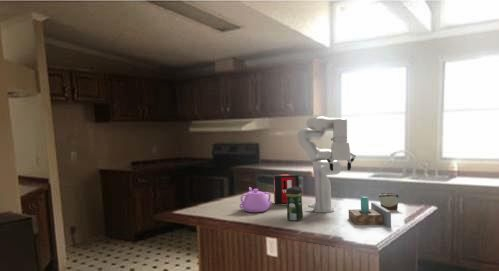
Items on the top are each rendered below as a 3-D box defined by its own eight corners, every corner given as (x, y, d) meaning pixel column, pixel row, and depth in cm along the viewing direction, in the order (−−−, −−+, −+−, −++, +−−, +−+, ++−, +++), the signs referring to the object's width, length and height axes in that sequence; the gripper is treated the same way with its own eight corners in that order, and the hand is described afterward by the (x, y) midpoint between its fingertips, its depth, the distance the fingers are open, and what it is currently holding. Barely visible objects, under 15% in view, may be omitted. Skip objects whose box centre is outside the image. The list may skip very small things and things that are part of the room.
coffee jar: (291, 216, 202) (291, 185, 202) (304, 218, 198) (303, 185, 198) (284, 220, 194) (284, 187, 194) (297, 222, 190) (297, 188, 190)
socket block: (355, 225, 179) (355, 215, 179) (348, 218, 193) (348, 209, 193) (382, 224, 179) (382, 214, 179) (373, 217, 193) (373, 209, 193)
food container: (396, 208, 217) (396, 192, 217) (399, 210, 211) (399, 194, 211) (376, 208, 218) (376, 192, 218) (379, 210, 212) (378, 194, 212)
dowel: (362, 220, 184) (361, 198, 184) (360, 218, 188) (359, 196, 188) (370, 220, 184) (369, 197, 184) (367, 218, 188) (367, 196, 188)
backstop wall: (387, 227, 174) (386, 211, 174) (371, 216, 198) (371, 202, 198) (391, 227, 174) (390, 211, 174) (375, 216, 198) (374, 202, 198)
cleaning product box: (297, 201, 246) (296, 173, 246) (299, 204, 237) (298, 175, 237) (274, 202, 246) (273, 174, 246) (275, 205, 237) (274, 176, 237)
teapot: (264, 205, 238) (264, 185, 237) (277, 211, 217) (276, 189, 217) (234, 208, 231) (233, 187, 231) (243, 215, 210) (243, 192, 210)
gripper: (326, 140, 190) (326, 171, 191) (357, 140, 190) (357, 171, 191) (323, 140, 198) (323, 169, 199) (353, 139, 198) (353, 169, 199)
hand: (340, 170), depth 195 cm, fingers open, 9 cm apart
